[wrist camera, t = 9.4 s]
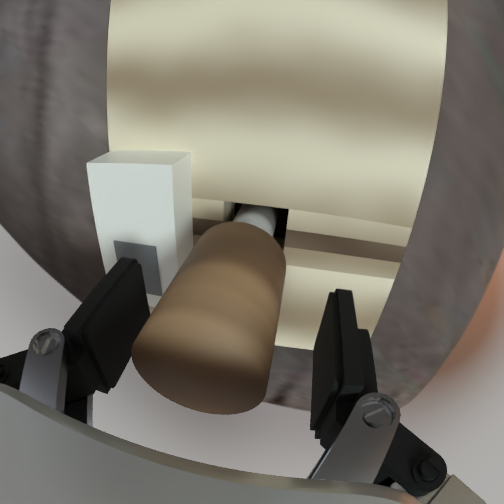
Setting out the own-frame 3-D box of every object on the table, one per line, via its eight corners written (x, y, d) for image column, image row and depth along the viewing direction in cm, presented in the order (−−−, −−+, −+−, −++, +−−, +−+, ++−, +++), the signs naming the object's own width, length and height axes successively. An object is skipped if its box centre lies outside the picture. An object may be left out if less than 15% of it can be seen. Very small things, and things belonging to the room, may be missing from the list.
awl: (228, 173, 17) (117, 313, 7) (298, 182, 17) (274, 346, 7) (226, 234, 19) (145, 396, 9) (289, 243, 19) (260, 423, 9)
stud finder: (113, 150, 14) (85, 163, 12) (191, 151, 14) (170, 166, 12) (129, 274, 19) (111, 298, 16) (195, 286, 18) (181, 314, 16)
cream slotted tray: (141, -13, 12) (114, -24, 9) (425, 4, 10) (447, -7, 7) (152, 293, 23) (136, 318, 21) (358, 324, 22) (362, 354, 19)
